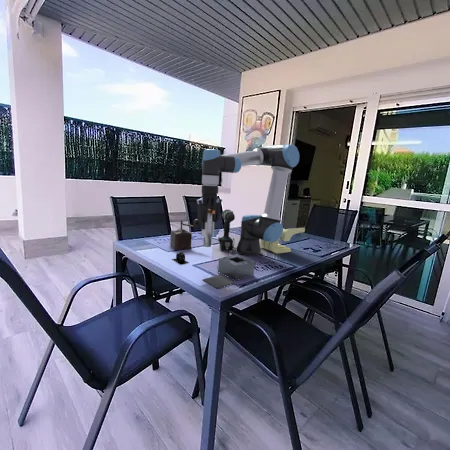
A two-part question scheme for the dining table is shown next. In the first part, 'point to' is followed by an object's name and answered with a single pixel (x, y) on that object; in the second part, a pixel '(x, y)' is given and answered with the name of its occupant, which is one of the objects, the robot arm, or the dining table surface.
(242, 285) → the dining table surface
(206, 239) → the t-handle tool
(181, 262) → the black notched block
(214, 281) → the rubber mat
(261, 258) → the dining table surface
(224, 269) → the block
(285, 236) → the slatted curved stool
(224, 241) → the power drill
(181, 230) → the manual coffee grinder
